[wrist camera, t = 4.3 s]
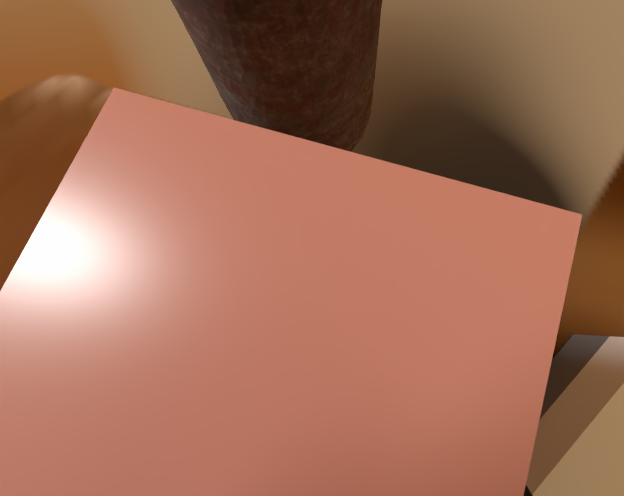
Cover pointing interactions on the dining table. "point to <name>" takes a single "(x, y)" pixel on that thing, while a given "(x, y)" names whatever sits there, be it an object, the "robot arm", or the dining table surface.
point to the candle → (291, 62)
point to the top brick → (273, 320)
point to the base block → (582, 421)
